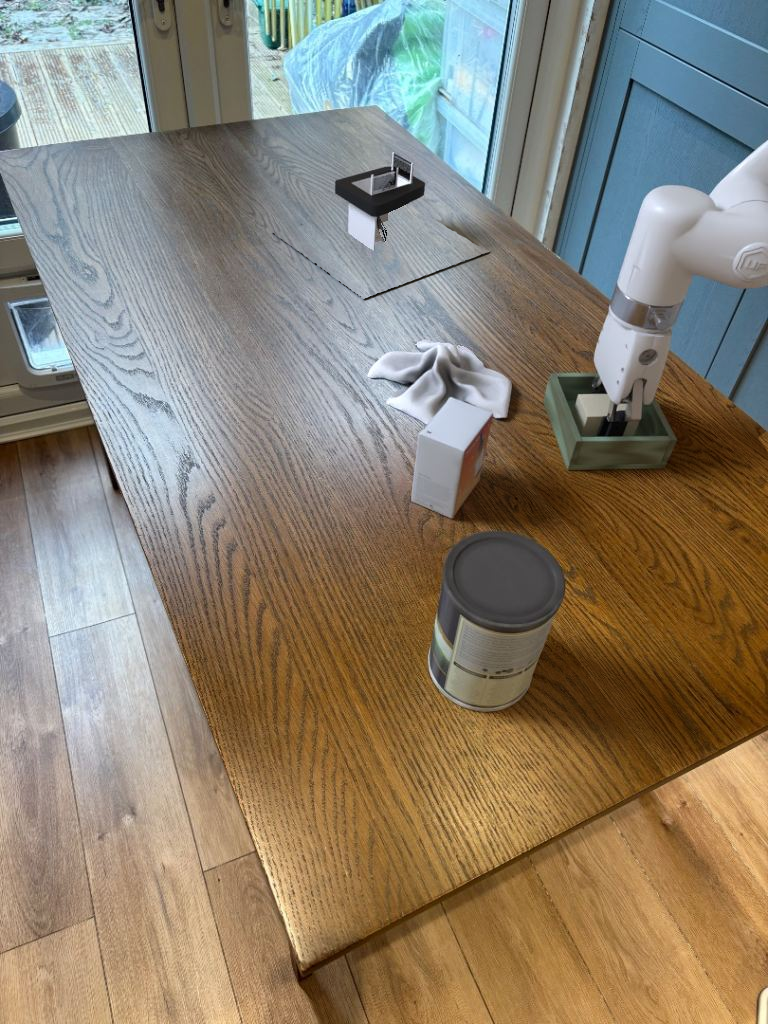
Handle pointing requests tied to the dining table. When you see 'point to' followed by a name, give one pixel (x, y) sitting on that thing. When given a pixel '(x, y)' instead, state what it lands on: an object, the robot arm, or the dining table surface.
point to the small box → (450, 456)
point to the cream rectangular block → (596, 414)
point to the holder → (604, 452)
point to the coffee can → (493, 618)
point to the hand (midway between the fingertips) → (602, 426)
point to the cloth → (442, 380)
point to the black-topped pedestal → (377, 198)
